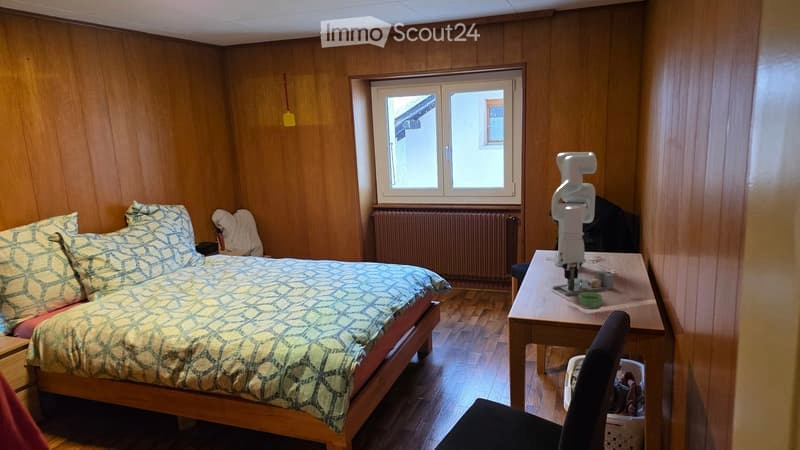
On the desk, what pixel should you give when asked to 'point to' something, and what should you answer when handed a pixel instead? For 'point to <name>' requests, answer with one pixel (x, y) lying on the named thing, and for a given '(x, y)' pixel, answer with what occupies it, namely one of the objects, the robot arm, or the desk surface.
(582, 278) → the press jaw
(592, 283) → the beige rounded dome
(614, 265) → the desk surface
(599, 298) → the ramekin
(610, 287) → the press frame
